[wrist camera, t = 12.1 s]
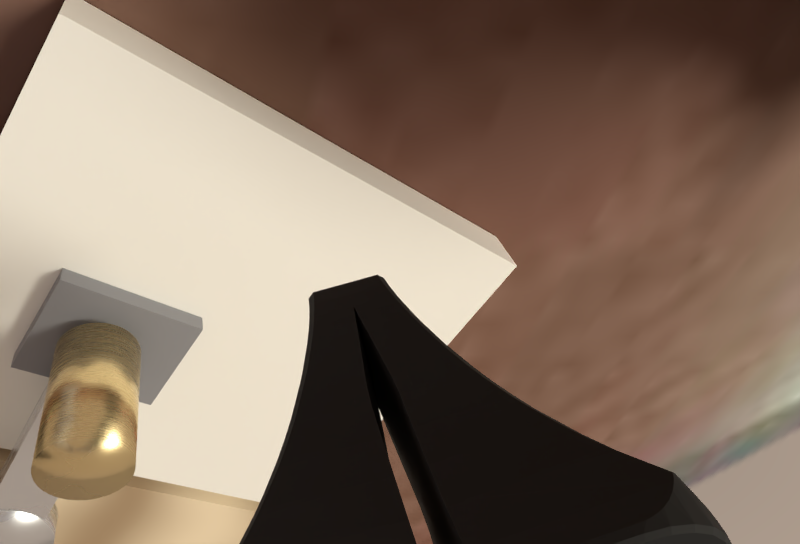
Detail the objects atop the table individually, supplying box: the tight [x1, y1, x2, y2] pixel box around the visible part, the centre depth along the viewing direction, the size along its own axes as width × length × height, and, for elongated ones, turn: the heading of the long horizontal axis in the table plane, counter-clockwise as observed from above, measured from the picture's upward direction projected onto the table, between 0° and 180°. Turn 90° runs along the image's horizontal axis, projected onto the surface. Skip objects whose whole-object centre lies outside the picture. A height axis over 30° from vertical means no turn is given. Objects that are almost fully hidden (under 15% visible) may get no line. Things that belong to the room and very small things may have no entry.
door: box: [0, 0, 517, 502], centre depth 23 cm, size 16×14×3 cm
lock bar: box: [0, 323, 141, 544], centre depth 20 cm, size 11×3×4 cm, turn 144°
